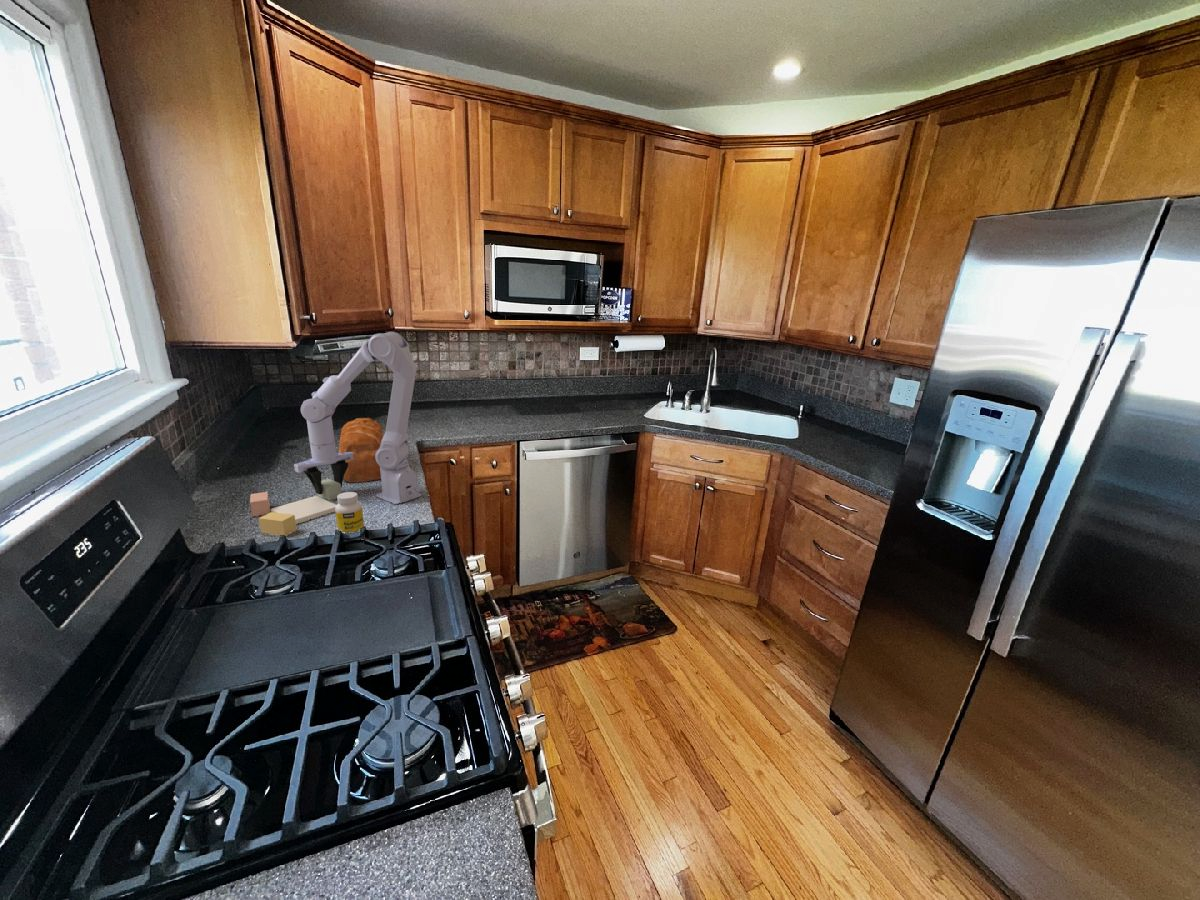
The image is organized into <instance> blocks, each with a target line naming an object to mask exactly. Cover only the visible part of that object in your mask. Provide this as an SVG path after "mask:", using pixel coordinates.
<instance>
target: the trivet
mask: <svg viewBox="0 0 1200 900" xmlns="http://www.w3.org/2000/svg"><path fill="white" fill-rule="evenodd" d="M336 505H337V504H336V503H333V502H331V501H329V500H326V499H324V498H322V497H320V496H318V495H314V496H310V497H306V498H304V499H299V500H296V501H294V502H290V503H287V504H283V505H279V506H275V507H272V508H270V513H271V512H275V513H283V514H292V515H295V522H296V525H299V524H302V523H305V522H307V521H311V520H314V519H317V518H319V516H320V517H322V516H321V515H323V516H325V515H324V514H326V515H328V514H327V513H329V514H332V513H335V512H334V511H335V507H336ZM331 512H332V513H331ZM316 517H317V518H316ZM310 519H311V520H310ZM298 523H299V524H298Z"/></svg>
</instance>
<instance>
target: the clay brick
mask: <svg viewBox="0 0 1200 900" xmlns="http://www.w3.org/2000/svg"><path fill="white" fill-rule="evenodd" d="M249 497H250V498H249V499H250V500H249V505H250V510H251V511H250V512H251V514H252V515H251V516H252V517H253V516H256V517H258V516H257V515H262V516H264V514H268V513H271V510H270V509H271V505H270V498H269V497H270V496H269V493H268V491H263V492H256V493H251V494H250V496H249Z"/></svg>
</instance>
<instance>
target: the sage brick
mask: <svg viewBox="0 0 1200 900" xmlns="http://www.w3.org/2000/svg"><path fill="white" fill-rule="evenodd" d="M321 484H322V491H323V492H322V494H317V493H316V494H317V495H316V496H318V497H320V498H322V499H325V500H326V499H327V501H329V502H331V501H332V500H336V498H337V496H338V495H339V494H341V493H343V492H342V488H341V484H340V483H338V482H335V481H334V479H333V480H332V479H330V478H325V479H323V480H322V479H321Z"/></svg>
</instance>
